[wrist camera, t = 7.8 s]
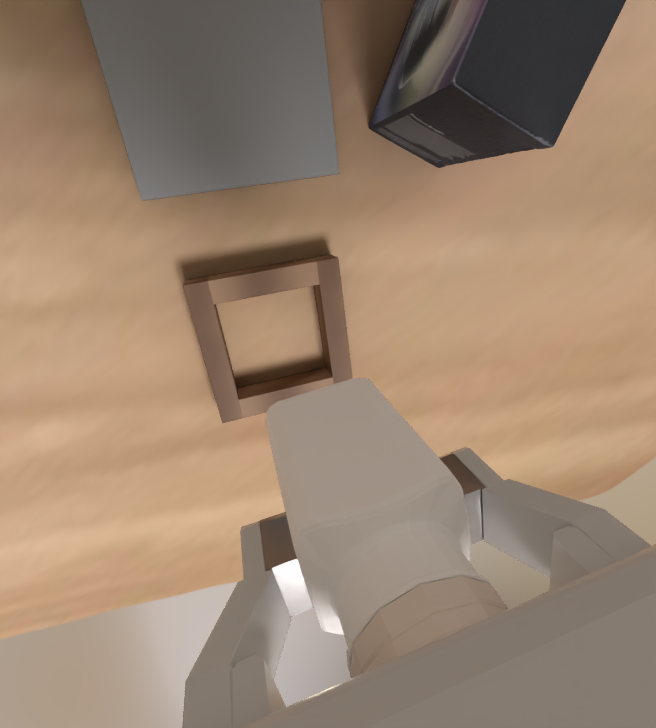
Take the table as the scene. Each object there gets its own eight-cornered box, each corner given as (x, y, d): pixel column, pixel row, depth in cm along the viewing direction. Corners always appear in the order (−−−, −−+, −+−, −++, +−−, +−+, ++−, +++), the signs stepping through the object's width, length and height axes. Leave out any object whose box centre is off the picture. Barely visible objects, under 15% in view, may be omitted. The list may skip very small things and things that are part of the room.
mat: (306, -75, 20) (311, -87, 20) (334, 174, 25) (339, 173, 24) (62, -73, 18) (54, -87, 17) (144, 200, 23) (141, 200, 22)
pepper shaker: (259, 400, 13) (335, 748, 5) (367, 367, 14) (606, 621, 5) (286, 487, 15) (380, 862, 6) (382, 454, 16) (583, 754, 7)
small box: (431, -67, 22) (591, -271, 13) (513, 0, 24) (698, -129, 15) (361, 127, 25) (450, 78, 15) (441, 171, 27) (560, 151, 18)
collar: (330, 254, 27) (338, 257, 25) (346, 379, 31) (354, 390, 29) (185, 280, 25) (182, 285, 24) (222, 410, 29) (222, 423, 28)
